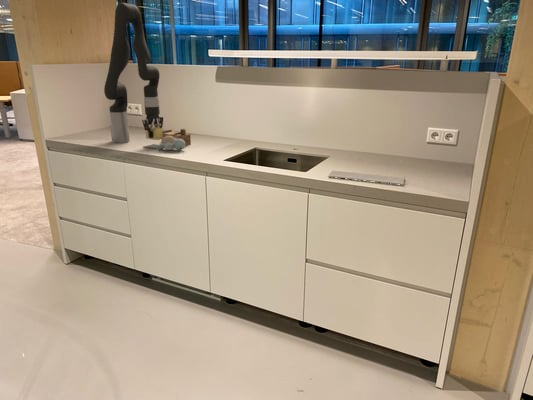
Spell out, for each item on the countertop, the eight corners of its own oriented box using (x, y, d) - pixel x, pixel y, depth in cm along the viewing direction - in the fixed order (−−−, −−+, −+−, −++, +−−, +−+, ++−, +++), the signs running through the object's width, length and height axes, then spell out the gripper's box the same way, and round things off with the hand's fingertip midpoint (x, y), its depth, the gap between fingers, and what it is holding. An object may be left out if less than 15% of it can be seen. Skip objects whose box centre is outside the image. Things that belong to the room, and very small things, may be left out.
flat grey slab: (333, 172, 186) (328, 179, 175) (333, 165, 185) (328, 172, 174) (404, 179, 176) (403, 187, 165) (405, 173, 175) (404, 180, 164)
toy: (159, 160, 216) (182, 149, 212) (150, 143, 214) (173, 132, 209) (169, 155, 227) (191, 145, 223) (160, 139, 225) (182, 128, 220)
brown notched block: (162, 143, 235) (160, 127, 232) (171, 141, 241) (170, 126, 238) (182, 146, 228) (181, 130, 225) (190, 144, 234) (190, 128, 231)
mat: (143, 147, 225) (142, 146, 225) (153, 144, 231) (153, 144, 231) (156, 149, 220) (156, 148, 220) (166, 146, 227) (166, 146, 227)
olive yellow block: (146, 138, 224) (145, 126, 222) (152, 137, 228) (151, 125, 226) (157, 140, 220) (156, 127, 218) (163, 138, 224) (162, 126, 222)
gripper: (156, 103, 226) (158, 134, 231) (136, 106, 214) (139, 138, 220) (166, 104, 222) (168, 135, 228) (147, 107, 211) (149, 140, 216)
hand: (154, 137), depth 224 cm, fingers closed on olive yellow block, 4 cm apart
